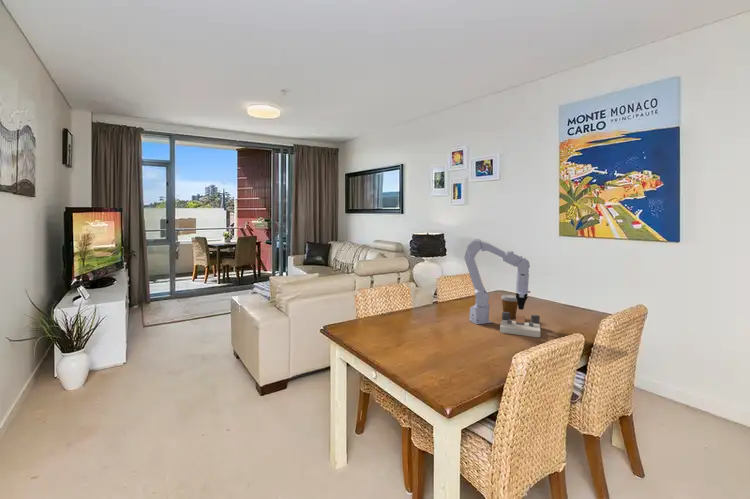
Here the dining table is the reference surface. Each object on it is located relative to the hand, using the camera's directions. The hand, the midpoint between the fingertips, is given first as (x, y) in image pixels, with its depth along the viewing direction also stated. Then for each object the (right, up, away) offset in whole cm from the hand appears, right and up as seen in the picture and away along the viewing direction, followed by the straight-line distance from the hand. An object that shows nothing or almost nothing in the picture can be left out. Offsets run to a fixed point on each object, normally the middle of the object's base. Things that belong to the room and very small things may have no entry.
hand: (521, 308), depth 189 cm
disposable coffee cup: (0, -8, +17) cm, 19 cm away
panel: (-3, -10, -6) cm, 12 cm away
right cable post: (+7, -10, -1) cm, 12 cm away
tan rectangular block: (-3, -7, -6) cm, 10 cm away
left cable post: (-6, -9, +5) cm, 12 cm away
